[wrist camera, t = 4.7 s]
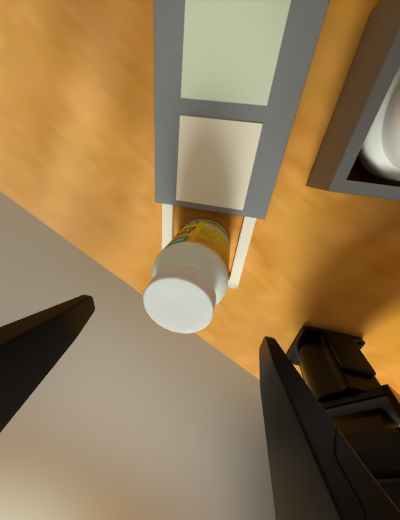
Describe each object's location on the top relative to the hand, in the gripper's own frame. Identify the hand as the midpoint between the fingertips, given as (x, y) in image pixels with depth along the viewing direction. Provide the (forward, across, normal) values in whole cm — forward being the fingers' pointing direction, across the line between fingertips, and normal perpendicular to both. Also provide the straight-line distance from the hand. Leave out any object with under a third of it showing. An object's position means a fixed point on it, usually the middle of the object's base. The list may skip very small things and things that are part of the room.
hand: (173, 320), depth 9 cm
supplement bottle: (+11, 0, 0) cm, 11 cm away
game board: (+10, 0, -7) cm, 13 cm away
